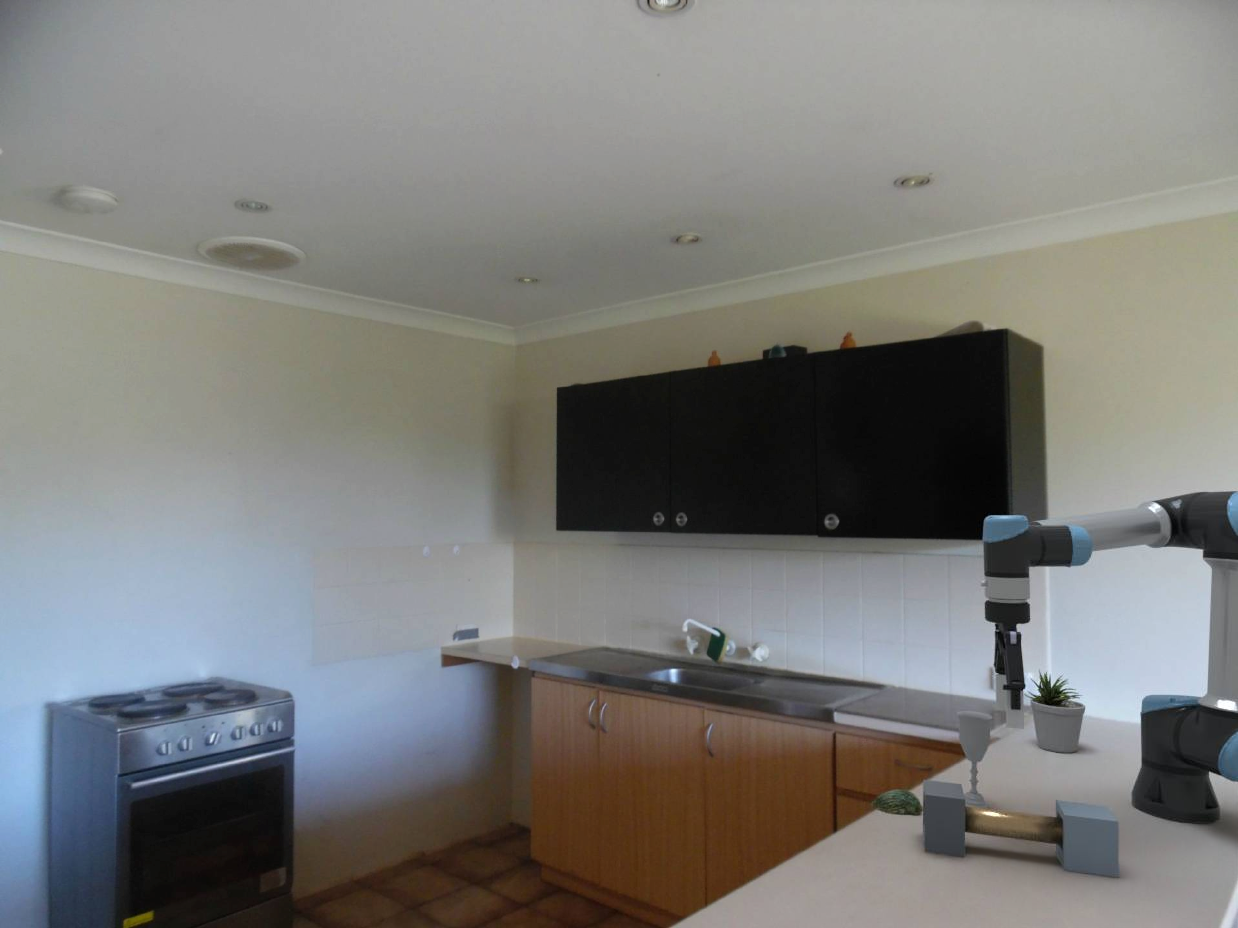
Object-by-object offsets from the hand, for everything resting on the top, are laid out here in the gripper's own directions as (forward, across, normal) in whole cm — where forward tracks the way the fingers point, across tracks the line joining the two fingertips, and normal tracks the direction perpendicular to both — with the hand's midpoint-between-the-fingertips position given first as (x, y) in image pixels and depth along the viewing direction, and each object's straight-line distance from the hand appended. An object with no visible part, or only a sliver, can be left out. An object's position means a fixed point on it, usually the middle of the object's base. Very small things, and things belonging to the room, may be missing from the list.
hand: (1009, 718), depth 156 cm
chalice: (+22, -19, -4) cm, 30 cm away
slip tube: (+19, +6, -3) cm, 20 cm away
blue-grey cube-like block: (+22, +6, +11) cm, 25 cm away
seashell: (+22, -12, -19) cm, 32 cm away
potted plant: (+24, -75, +20) cm, 81 cm away
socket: (+22, +6, -12) cm, 25 cm away
